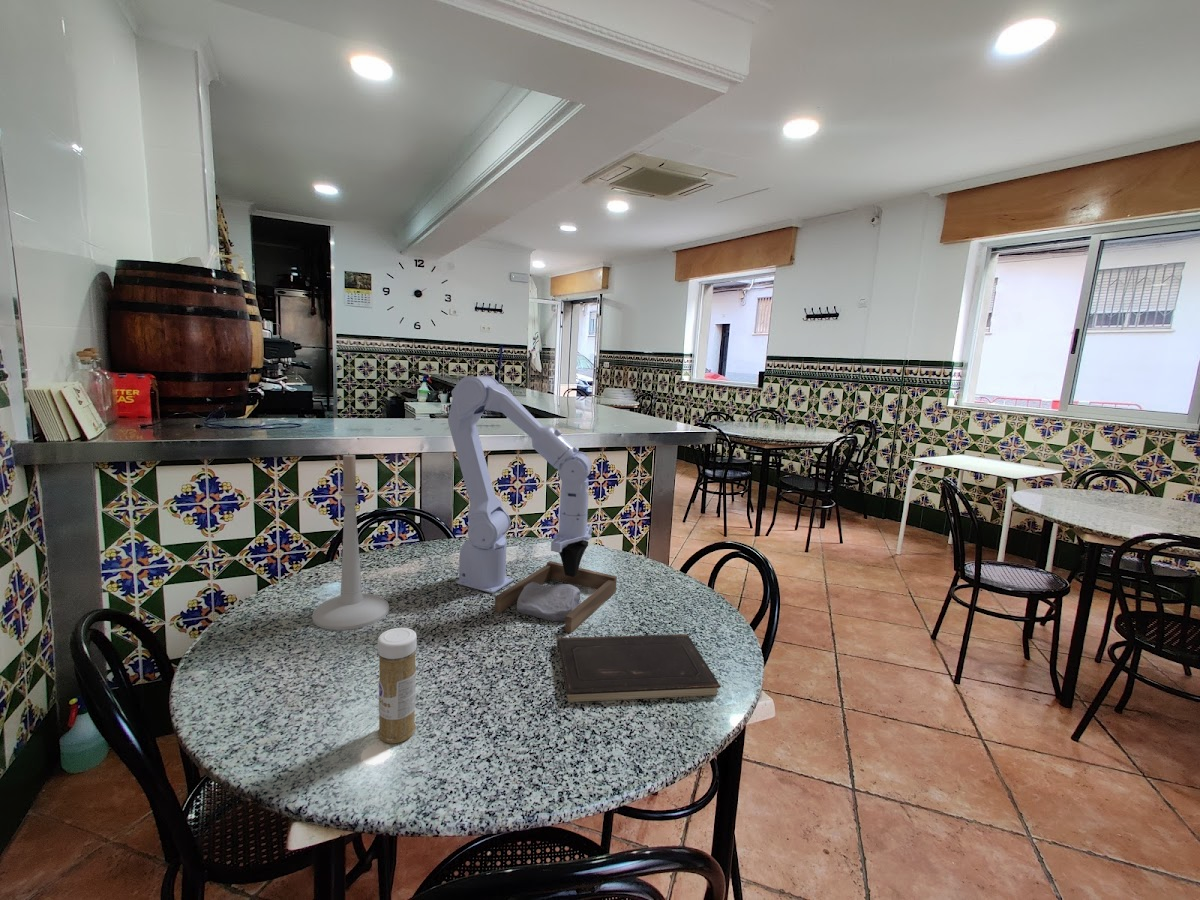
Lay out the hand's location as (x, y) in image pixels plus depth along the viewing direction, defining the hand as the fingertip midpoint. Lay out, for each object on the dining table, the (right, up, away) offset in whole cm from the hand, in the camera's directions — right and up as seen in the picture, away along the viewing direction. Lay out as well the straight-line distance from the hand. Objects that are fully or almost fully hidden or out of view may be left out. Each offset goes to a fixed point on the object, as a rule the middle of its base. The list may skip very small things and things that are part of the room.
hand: (570, 575), depth 113 cm
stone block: (-4, -6, -7) cm, 10 cm away
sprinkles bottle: (-20, -10, -44) cm, 49 cm away
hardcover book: (+11, -10, -26) cm, 30 cm away
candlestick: (-40, -4, -13) cm, 42 cm away
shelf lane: (-2, -5, -4) cm, 6 cm away
